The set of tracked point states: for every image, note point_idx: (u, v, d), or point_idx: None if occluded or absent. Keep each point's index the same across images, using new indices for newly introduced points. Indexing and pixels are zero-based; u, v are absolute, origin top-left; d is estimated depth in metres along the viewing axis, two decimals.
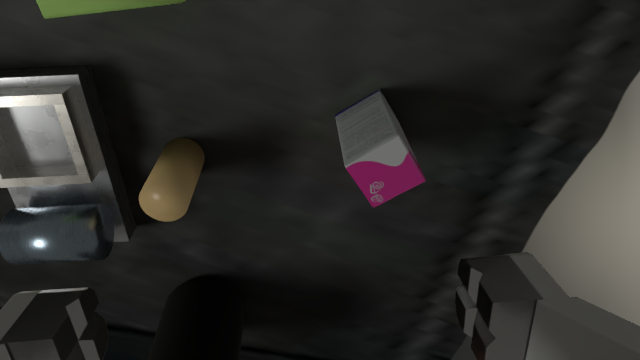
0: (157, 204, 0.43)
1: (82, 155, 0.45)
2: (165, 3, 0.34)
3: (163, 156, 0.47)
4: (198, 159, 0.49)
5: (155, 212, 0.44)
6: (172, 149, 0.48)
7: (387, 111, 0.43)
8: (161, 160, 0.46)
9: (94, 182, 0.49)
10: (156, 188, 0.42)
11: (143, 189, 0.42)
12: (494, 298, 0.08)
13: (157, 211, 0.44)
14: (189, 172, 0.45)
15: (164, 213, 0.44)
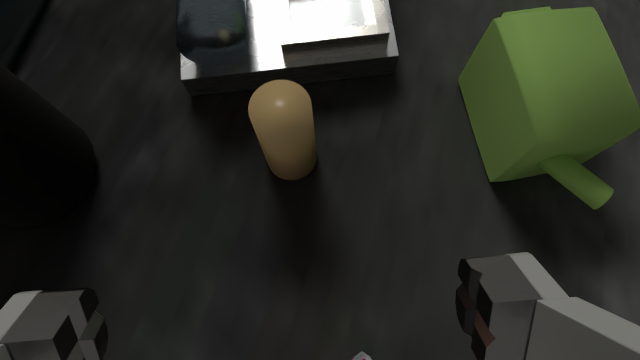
0: (275, 99, 0.33)
1: (316, 41, 0.39)
2: (534, 127, 0.32)
3: None
4: (300, 168, 0.38)
5: (262, 96, 0.33)
6: None
7: None
8: None
9: (267, 53, 0.42)
10: (300, 100, 0.33)
11: (298, 86, 0.33)
12: (494, 298, 0.08)
13: (264, 99, 0.33)
14: (301, 149, 0.35)
15: (261, 106, 0.33)
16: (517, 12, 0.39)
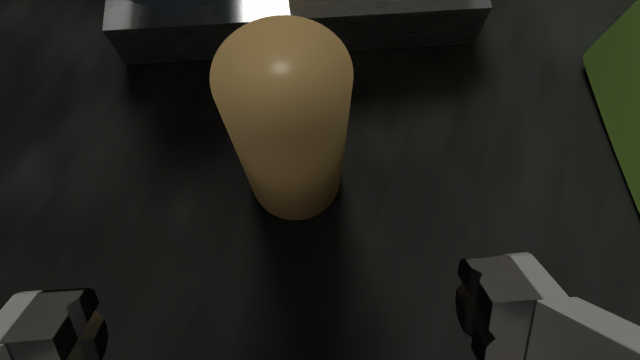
0: (271, 56, 0.15)
1: None
2: None
3: None
4: (313, 201, 0.20)
5: (244, 49, 0.15)
6: None
7: None
8: None
9: None
10: (328, 60, 0.15)
11: (324, 29, 0.15)
12: (494, 298, 0.08)
13: (246, 54, 0.15)
14: (320, 168, 0.17)
15: (239, 70, 0.14)
16: None
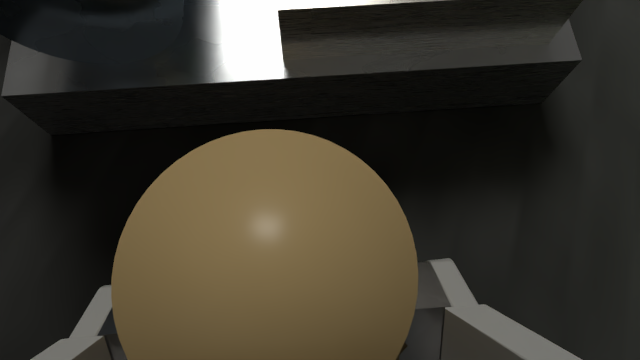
0: (245, 225, 0.07)
1: (380, 6, 0.14)
2: None
3: None
4: None
5: (188, 207, 0.07)
6: None
7: None
8: None
9: (242, 38, 0.16)
10: (363, 234, 0.07)
11: (353, 162, 0.07)
12: None
13: (193, 220, 0.07)
14: None
15: (177, 259, 0.07)
16: None
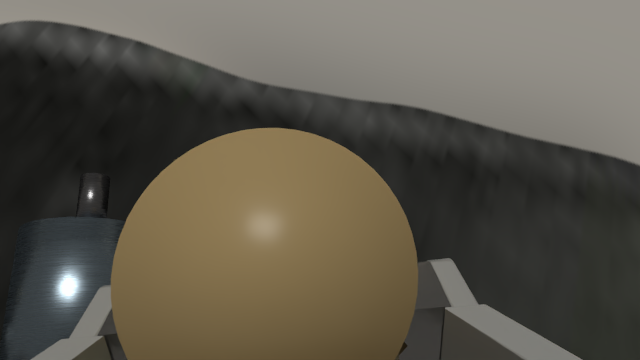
0: (245, 223, 0.07)
1: None
2: None
3: None
4: None
5: (188, 206, 0.07)
6: None
7: None
8: None
9: None
10: (363, 233, 0.07)
11: (353, 161, 0.07)
12: None
13: (193, 219, 0.07)
14: None
15: (177, 258, 0.07)
16: None
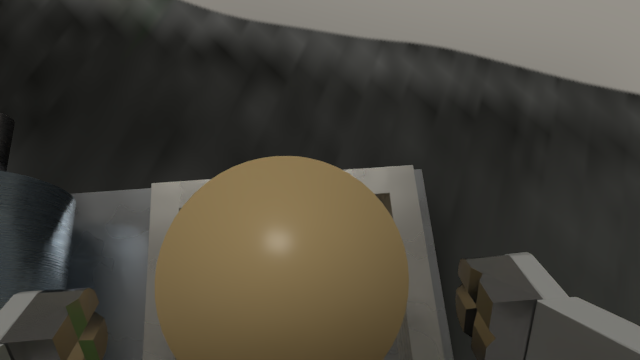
0: (265, 237, 0.08)
1: None
2: None
3: None
4: None
5: (218, 222, 0.08)
6: None
7: None
8: None
9: None
10: (363, 245, 0.08)
11: (354, 184, 0.09)
12: (494, 298, 0.08)
13: (221, 233, 0.08)
14: None
15: (209, 265, 0.08)
16: None
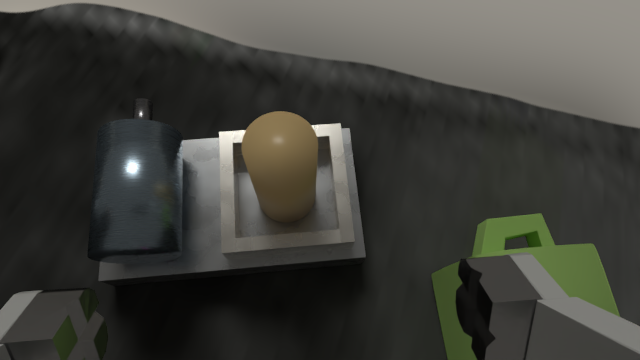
0: (274, 135, 0.27)
1: (265, 249, 0.32)
2: None
3: None
4: (298, 211, 0.33)
5: (259, 131, 0.27)
6: None
7: None
8: None
9: (208, 248, 0.34)
10: (304, 137, 0.27)
11: (302, 120, 0.28)
12: (494, 298, 0.08)
13: (260, 134, 0.27)
14: (301, 193, 0.30)
15: (257, 143, 0.27)
16: (503, 219, 0.33)
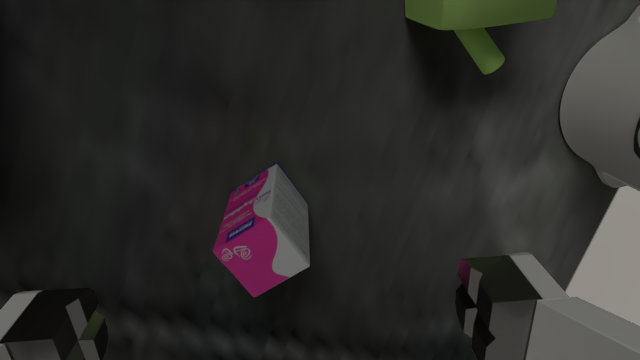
0: None
1: None
2: (443, 12, 0.31)
3: None
4: None
5: None
6: None
7: (308, 231, 0.41)
8: None
9: None
10: None
11: None
12: (494, 298, 0.08)
13: None
14: None
15: None
16: None
